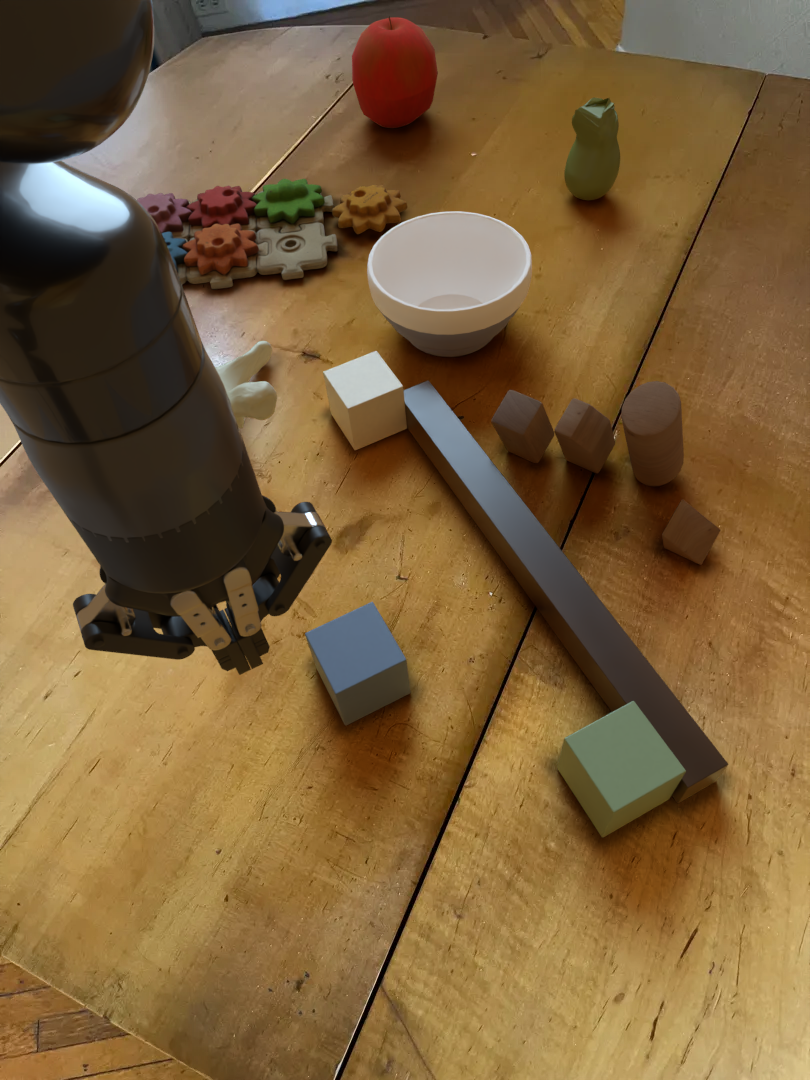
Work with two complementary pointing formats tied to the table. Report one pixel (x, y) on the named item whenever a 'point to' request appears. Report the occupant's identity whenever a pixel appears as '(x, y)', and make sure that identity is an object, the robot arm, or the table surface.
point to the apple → (394, 72)
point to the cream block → (366, 399)
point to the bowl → (449, 280)
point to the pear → (593, 150)
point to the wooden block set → (590, 441)
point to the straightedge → (558, 587)
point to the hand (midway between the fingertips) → (246, 656)
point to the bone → (249, 384)
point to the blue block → (359, 662)
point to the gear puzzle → (262, 228)
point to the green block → (619, 768)
